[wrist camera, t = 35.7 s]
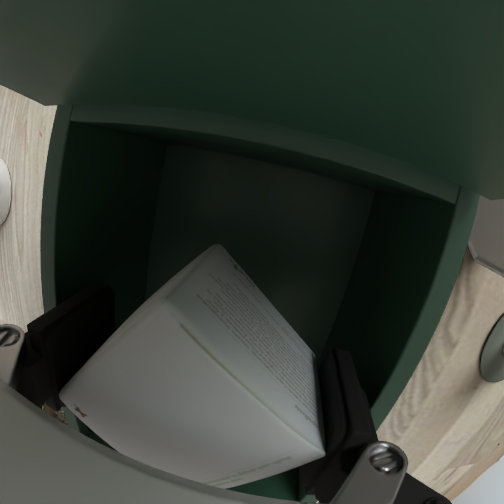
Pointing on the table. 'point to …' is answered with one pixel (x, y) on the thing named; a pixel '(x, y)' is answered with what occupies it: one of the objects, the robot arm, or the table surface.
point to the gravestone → (488, 235)
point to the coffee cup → (494, 355)
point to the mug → (4, 191)
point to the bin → (256, 233)
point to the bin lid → (284, 69)
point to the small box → (205, 381)
